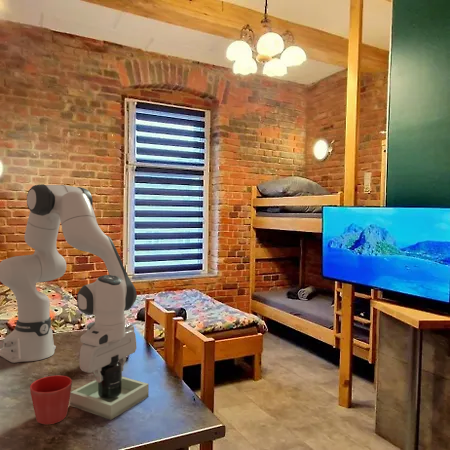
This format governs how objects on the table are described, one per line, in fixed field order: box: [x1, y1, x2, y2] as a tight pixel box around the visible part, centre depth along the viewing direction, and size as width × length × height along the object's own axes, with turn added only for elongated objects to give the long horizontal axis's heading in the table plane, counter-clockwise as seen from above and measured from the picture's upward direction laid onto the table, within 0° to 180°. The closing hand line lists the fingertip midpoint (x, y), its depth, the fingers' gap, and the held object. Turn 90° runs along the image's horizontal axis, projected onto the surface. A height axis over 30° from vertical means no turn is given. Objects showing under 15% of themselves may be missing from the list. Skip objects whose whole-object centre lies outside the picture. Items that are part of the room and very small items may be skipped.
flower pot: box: [29, 374, 73, 426], centre depth 115 cm, size 11×11×10 cm
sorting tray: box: [69, 376, 150, 421], centre depth 125 cm, size 16×16×4 cm
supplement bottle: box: [98, 355, 123, 399], centre depth 124 cm, size 7×7×12 cm
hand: (109, 376), depth 125 cm, fingers closed on supplement bottle, 7 cm apart
